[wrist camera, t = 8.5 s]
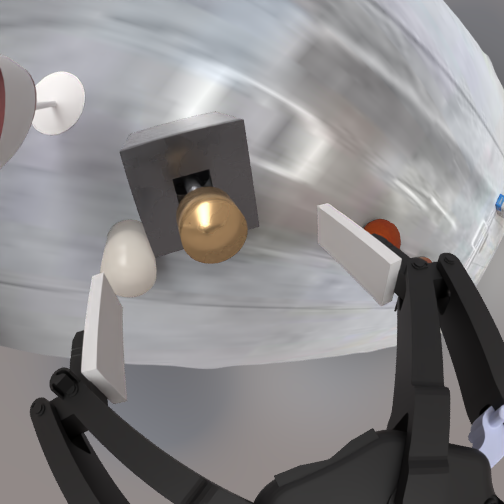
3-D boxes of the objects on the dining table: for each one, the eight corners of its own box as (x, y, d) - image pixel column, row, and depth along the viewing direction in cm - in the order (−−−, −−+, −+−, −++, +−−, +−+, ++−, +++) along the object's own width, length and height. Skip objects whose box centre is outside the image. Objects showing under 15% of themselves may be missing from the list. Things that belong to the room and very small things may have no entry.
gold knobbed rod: (162, 199, 35) (177, 292, 20) (147, 146, 30) (144, 200, 16) (216, 183, 36) (272, 262, 21) (206, 130, 32) (260, 168, 17)
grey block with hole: (152, 210, 37) (155, 257, 27) (129, 133, 31) (119, 152, 21) (229, 188, 39) (259, 226, 29) (215, 111, 33) (243, 119, 23)
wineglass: (102, 93, 27) (34, 95, 9) (54, 152, 28) (-36, 231, 10) (60, 54, 22) (-38, 25, 4) (13, 115, 23) (-99, 159, 5)
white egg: (117, 268, 39) (114, 303, 33) (99, 228, 35) (90, 259, 29) (160, 254, 41) (164, 288, 34) (145, 212, 37) (145, 241, 30)
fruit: (375, 252, 57) (399, 274, 50) (344, 252, 53) (369, 276, 47) (390, 215, 52) (417, 233, 46) (360, 210, 49) (388, 231, 43)
